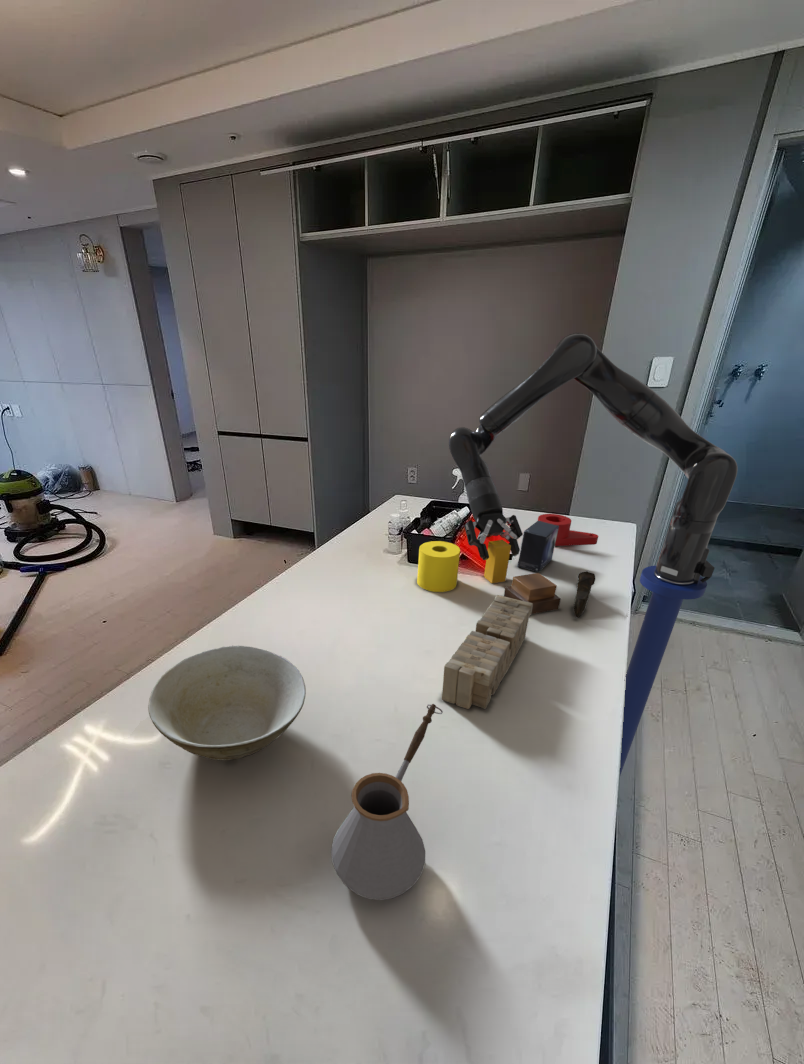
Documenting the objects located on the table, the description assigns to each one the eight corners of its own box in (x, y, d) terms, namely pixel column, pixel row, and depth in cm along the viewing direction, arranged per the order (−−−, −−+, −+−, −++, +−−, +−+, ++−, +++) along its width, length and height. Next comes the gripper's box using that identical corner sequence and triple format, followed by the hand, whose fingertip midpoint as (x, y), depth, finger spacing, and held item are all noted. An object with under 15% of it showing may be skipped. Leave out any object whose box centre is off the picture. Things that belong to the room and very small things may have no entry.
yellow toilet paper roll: (455, 575, 134) (459, 542, 129) (457, 593, 125) (460, 558, 121) (417, 573, 135) (420, 540, 131) (416, 590, 127) (418, 556, 122)
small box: (540, 573, 135) (547, 536, 130) (516, 567, 138) (522, 531, 133) (553, 560, 142) (560, 524, 137) (530, 554, 146) (536, 519, 140)
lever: (536, 544, 152) (540, 523, 148) (532, 533, 160) (536, 513, 156) (600, 548, 149) (605, 527, 146) (593, 536, 157) (598, 516, 154)
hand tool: (576, 583, 130) (580, 566, 128) (593, 586, 128) (597, 570, 126) (563, 616, 116) (567, 599, 113) (582, 621, 114) (586, 603, 112)
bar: (497, 574, 134) (502, 539, 129) (505, 581, 131) (511, 545, 126) (483, 576, 133) (488, 541, 128) (491, 583, 130) (497, 547, 125)
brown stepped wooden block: (535, 592, 126) (539, 570, 123) (558, 609, 118) (563, 586, 115) (503, 597, 123) (506, 575, 120) (524, 615, 116) (529, 592, 113)
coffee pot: (398, 932, 56) (403, 846, 49) (313, 880, 62) (307, 795, 54) (466, 796, 72) (478, 716, 65) (394, 764, 78) (398, 687, 70)
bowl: (336, 720, 86) (335, 672, 81) (236, 822, 69) (227, 769, 64) (236, 673, 97) (230, 629, 93) (128, 751, 80) (113, 702, 75)
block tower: (481, 718, 88) (528, 635, 109) (487, 680, 83) (535, 601, 104) (439, 702, 91) (492, 624, 112) (442, 665, 87) (497, 591, 108)
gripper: (464, 494, 126) (482, 555, 122) (514, 489, 130) (533, 547, 126) (452, 508, 133) (469, 566, 129) (500, 503, 137) (518, 558, 133)
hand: (501, 557), depth 128 cm, fingers open, 8 cm apart
